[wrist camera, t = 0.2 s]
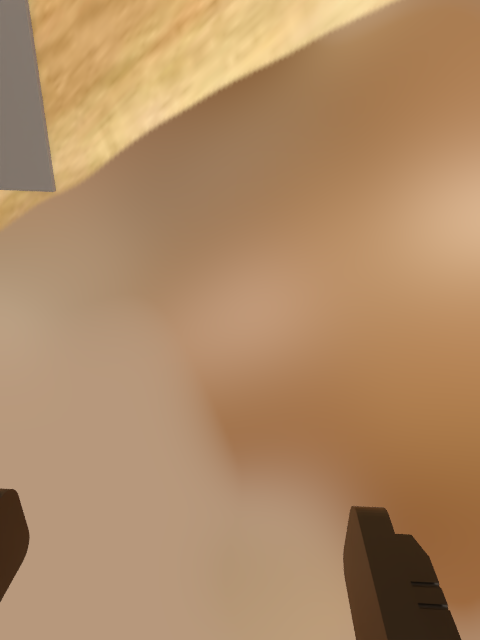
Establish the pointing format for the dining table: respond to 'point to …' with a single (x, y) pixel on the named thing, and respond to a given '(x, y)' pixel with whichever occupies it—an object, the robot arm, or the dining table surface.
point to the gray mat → (21, 106)
